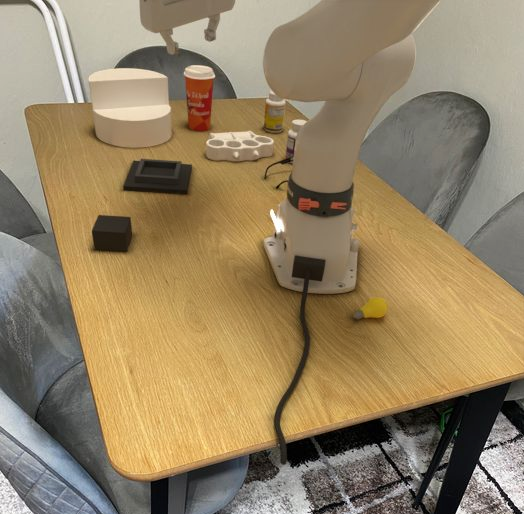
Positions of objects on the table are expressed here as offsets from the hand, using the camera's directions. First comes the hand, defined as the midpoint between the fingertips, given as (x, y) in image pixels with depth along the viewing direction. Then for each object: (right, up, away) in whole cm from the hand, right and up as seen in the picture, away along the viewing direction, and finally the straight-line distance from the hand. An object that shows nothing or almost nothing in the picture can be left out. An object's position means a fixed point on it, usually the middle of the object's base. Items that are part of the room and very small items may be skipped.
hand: (192, 46), depth 99 cm
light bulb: (+31, -53, -11) cm, 62 cm away
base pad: (-10, -18, +21) cm, 30 cm away
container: (-21, 0, +41) cm, 46 cm away
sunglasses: (+20, -17, +26) cm, 38 cm away
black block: (-15, -38, -1) cm, 40 cm away
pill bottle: (+22, -9, +35) cm, 43 cm away
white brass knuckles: (+7, -7, +37) cm, 38 cm away
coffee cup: (-4, +5, +48) cm, 48 cm away
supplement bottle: (+17, +5, +51) cm, 53 cm away
